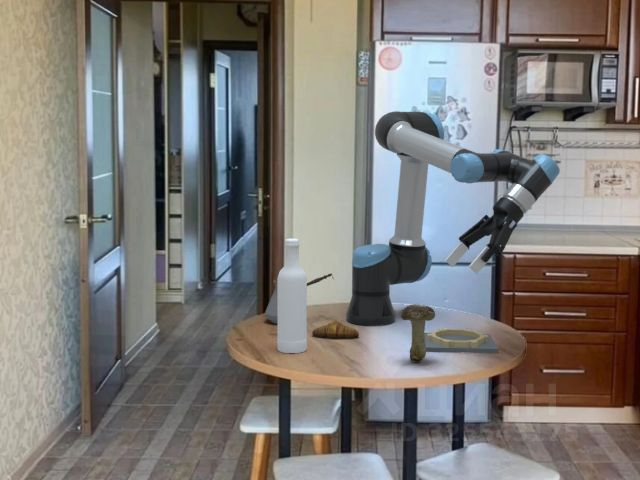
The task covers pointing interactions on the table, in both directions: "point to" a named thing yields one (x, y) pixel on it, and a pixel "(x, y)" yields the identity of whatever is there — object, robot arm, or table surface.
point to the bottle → (292, 302)
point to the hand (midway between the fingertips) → (460, 266)
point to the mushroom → (418, 328)
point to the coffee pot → (272, 306)
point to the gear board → (459, 341)
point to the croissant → (335, 331)
